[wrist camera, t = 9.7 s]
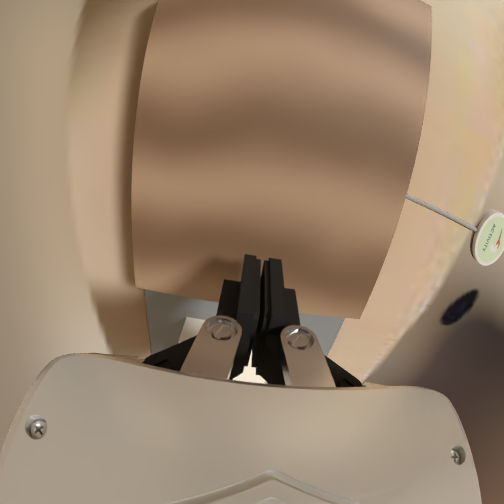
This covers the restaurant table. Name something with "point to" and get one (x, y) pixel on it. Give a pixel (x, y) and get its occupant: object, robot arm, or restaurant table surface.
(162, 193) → the board
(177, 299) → the mat
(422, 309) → the restaurant table surface
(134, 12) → the restaurant table surface
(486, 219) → the sign
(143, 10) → the restaurant table surface
